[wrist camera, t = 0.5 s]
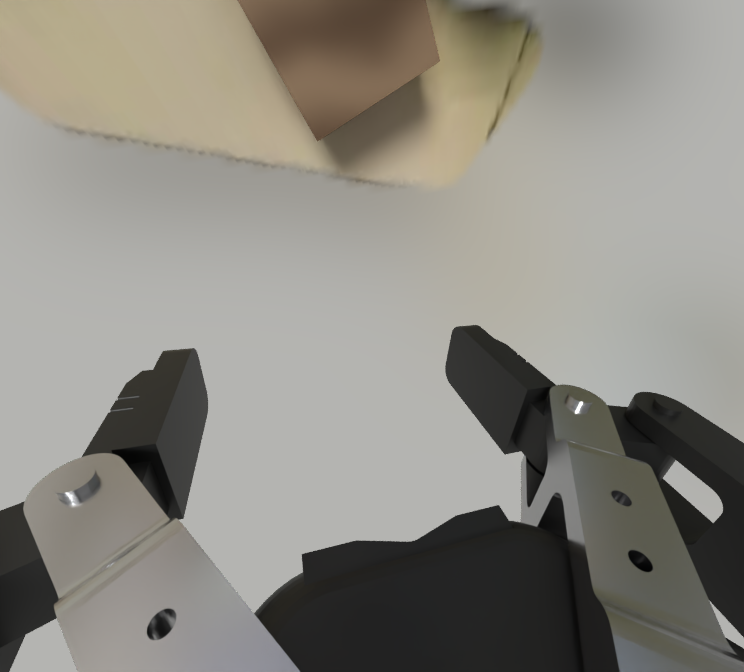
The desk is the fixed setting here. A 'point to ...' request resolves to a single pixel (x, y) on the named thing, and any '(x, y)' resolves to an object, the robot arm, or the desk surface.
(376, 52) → the walnut stand
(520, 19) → the desk surface
